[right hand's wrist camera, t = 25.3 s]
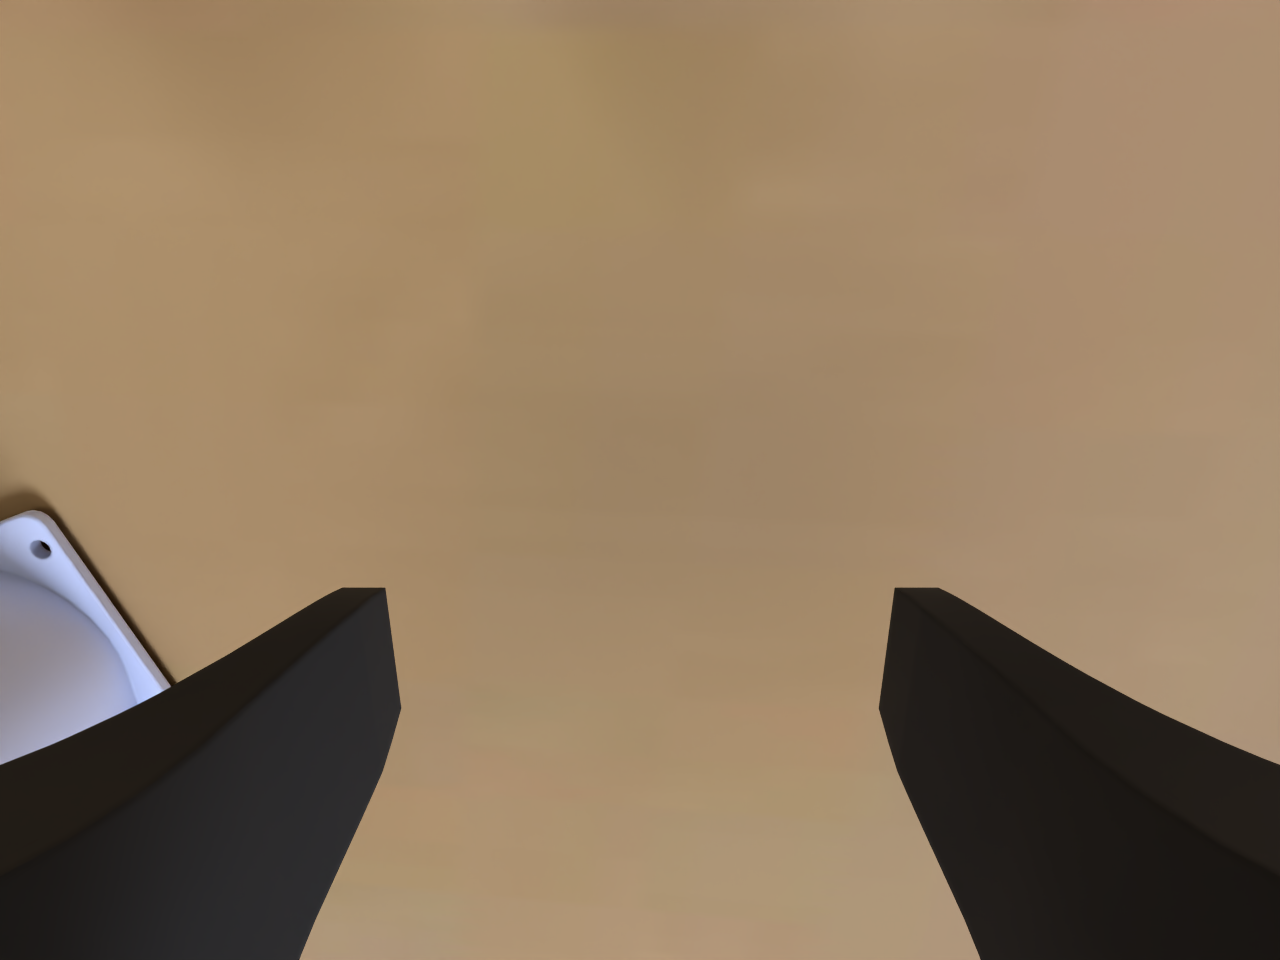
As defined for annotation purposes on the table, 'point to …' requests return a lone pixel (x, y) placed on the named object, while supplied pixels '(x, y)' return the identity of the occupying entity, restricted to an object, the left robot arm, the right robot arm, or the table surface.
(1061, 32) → the table surface
